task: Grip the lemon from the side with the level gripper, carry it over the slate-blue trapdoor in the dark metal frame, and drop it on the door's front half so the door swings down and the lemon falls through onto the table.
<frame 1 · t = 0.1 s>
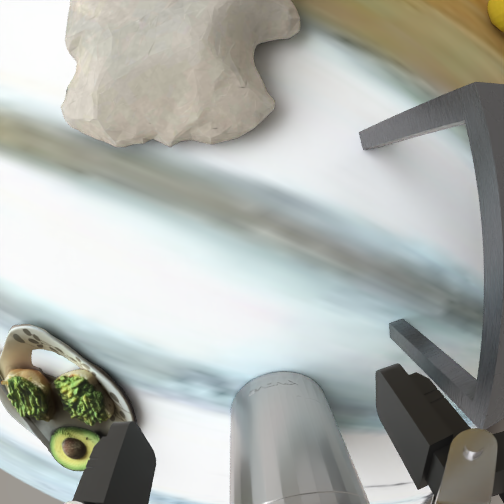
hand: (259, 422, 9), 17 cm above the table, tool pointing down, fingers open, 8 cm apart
lemon: (491, 23, 23), on the table
salad plate: (63, 401, 29), on the table
rock: (186, 18, 22), on the table
trapdoor frame: (461, 220, 26), on the table
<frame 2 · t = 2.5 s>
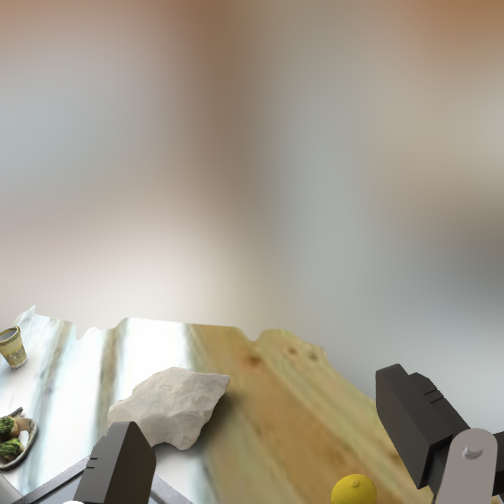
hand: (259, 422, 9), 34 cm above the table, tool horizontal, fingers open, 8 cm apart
ceramic cup: (21, 360, 77), on the table
salad plate: (7, 446, 43), on the table
rock: (175, 420, 52), on the table
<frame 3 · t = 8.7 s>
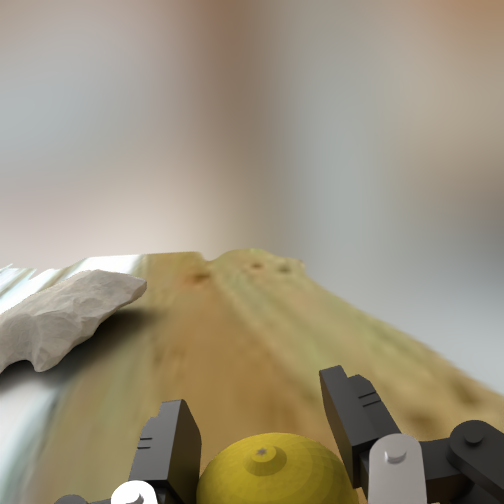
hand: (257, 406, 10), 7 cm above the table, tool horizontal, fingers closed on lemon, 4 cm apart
rock: (66, 343, 34), on the table
when the fingers open (24 cm above the table, at t = 13.5 s): lemon drops 10 cm, point 6 cm above the table.
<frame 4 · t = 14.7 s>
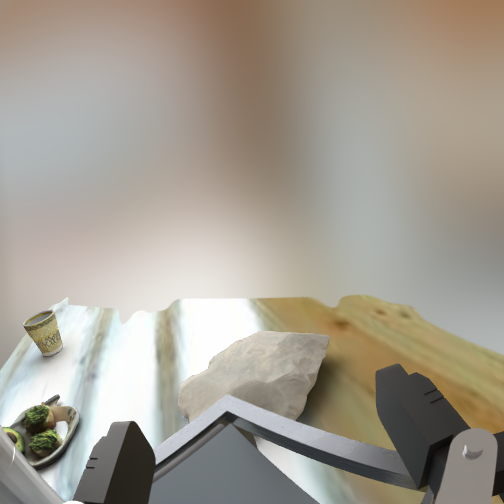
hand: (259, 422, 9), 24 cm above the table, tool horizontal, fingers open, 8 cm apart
ceramic cup: (55, 348, 74), on the table
salad plate: (38, 440, 39), on the table
rock: (266, 394, 45), on the table
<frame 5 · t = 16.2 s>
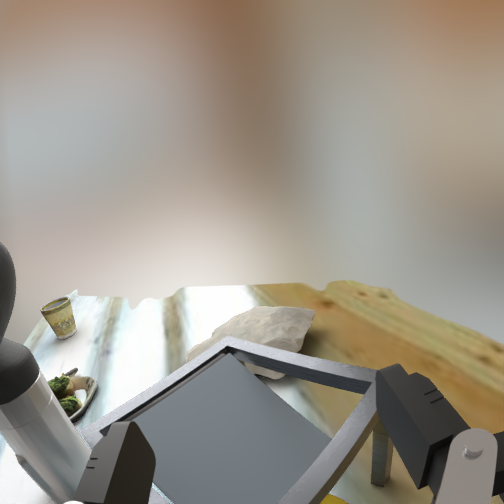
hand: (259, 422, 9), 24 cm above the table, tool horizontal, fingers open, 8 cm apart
ceramic cup: (69, 332, 84), on the table
lemon: (284, 502, 24), point 3 cm above the table
salad plate: (58, 407, 49), on the table
trapdoor: (228, 447, 24), point 11 cm above the table, hinge at -35.4°
rock: (260, 359, 55), on the table
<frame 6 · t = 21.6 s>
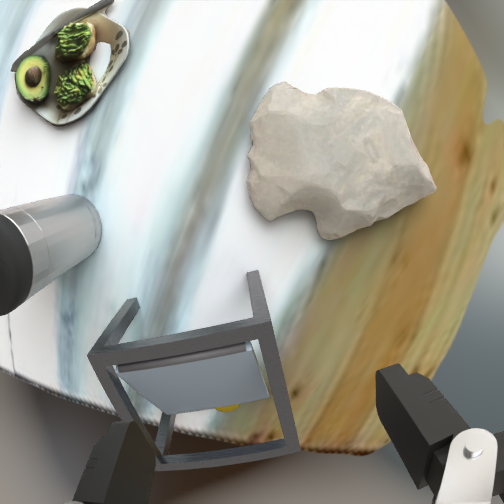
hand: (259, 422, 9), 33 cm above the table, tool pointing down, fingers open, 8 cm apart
lemon: (217, 367, 43), point 3 cm above the table
salad plate: (69, 66, 35), on the table
trapdoor: (200, 385, 34), point 11 cm above the table, hinge at -30.2°
rock: (341, 165, 41), on the table
trapdoor frame: (208, 345, 45), on the table
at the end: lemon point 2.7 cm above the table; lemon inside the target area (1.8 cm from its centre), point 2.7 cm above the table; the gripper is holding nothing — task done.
